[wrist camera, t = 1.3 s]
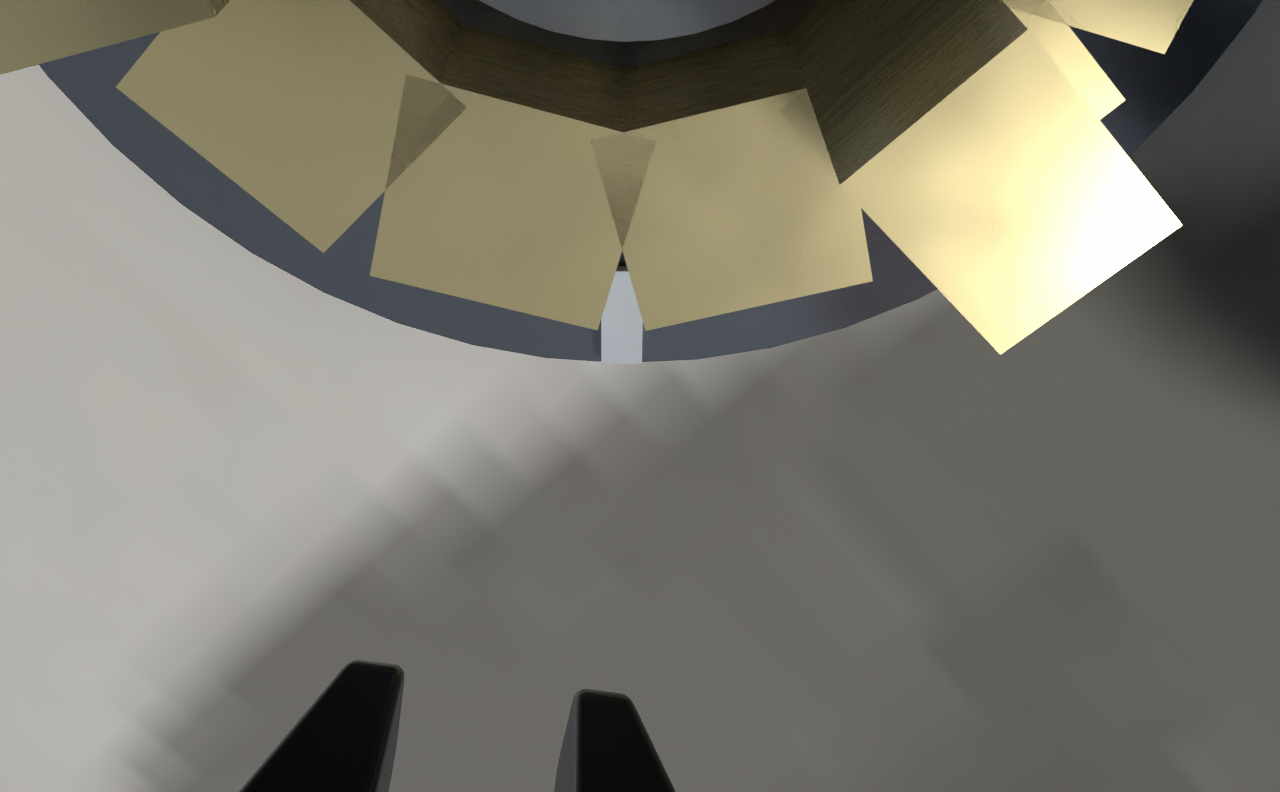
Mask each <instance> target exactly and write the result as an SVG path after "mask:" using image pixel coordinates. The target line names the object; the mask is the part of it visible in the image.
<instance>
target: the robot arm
mask: <svg viewBox="0 0 1280 792" xmlns="http://www.w3.org/2000/svg"><path fill="white" fill-rule="evenodd" d="M403 685H404V672H403V670H402V668H400V667H399V666H398V665H394V664H386V663H378V662H371V661H363V660H354V661H351V662H349V663H348V664H347V665H346V666H344V667H343V668H342V670H341V671H340V672H339V673H338V674H337V675H336V677H335V678H334V679H333V680H332V681H331V683H330V684H329V685H328V686H327V687H326V689H325V690H324V691H323V692H322V693H321V694H320V696H319V697H318V698H317V699H316V700H315V702H314V703H313V704H312V705H311V706H310V708H309V709H308V710H307V711H306V712H305V713H304V715H303V716H302V717H301V718H300V719H299V721H298V722H297V723H296V724H295V725H294V727H293V728H292V729H291V730H290V731H289V732H288V734H287V735H286V736H285V737H284V738H283V740H282V741H281V742H280V743H279V744H278V746H277V747H276V748H275V749H274V750H273V751H272V753H271V754H270V755H269V756H268V757H267V759H266V760H265V761H264V762H263V763H262V765H261V766H260V767H259V768H258V769H257V770H256V772H255V773H254V774H253V775H252V776H251V778H250V779H249V780H248V781H247V782H246V784H245V785H244V786H243V787H242V788H241V790H240V791H239V792H388V791H389V785H390V780H391V774H392V769H393V763H394V757H395V751H396V744H397V737H398V728H399V720H400V711H401V703H402V694H403ZM554 792H675V790H674V788H673V785H672V783H671V781H670V779H669V777H668V775H667V773H666V771H665V769H664V767H663V765H662V762H661V760H660V758H659V756H658V754H657V752H656V750H655V748H654V746H653V744H652V741H651V739H650V737H649V735H648V733H647V731H646V729H645V727H644V725H643V723H642V721H641V718H640V716H639V714H638V712H637V710H636V708H635V706H634V704H633V703H632V701H631V700H630V698H628V697H627V696H626V695H624V694H620V693H613V692H605V691H597V690H590V689H582V690H580V691H578V692H577V693H576V694H575V696H574V699H573V702H572V706H571V710H570V715H569V719H568V723H567V727H566V732H565V736H564V740H563V745H562V749H561V753H560V758H559V763H558V768H557V775H556V782H555V791H554Z"/></svg>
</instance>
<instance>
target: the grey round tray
mask: <svg viewBox="0 0 1280 792" xmlns="http://www.w3.org/2000/svg"><path fill="white" fill-rule="evenodd" d="M439 1H440V2H441V3H442V4H443V5H444V6H445V7H446V8H447V9H448V10H449V11H450V12H451V13H452V14H453V15H455V16H456V17H457V18H458V19H459V20H460V21H461V22H462V23H463V24H466V25H469V26H473V27H476V28H480V29H484V30H487V31H491V32H495V33H498V34H502V35H505V36H509V37H513V38H516V39H520V40H523V41H527V42H531V43H534V44H538V45H542V46H545V47H549V48H552V49H556V50H560V51H563V52H567V53H571V54H574V55H578V56H581V57H585V58H589V59H592V60H596V61H599V62H603V63H607V64H610V65H614V66H618V67H621V68H627V67H631V66H635V65H640V64H644V63H648V62H652V61H656V60H660V59H664V58H668V57H672V56H676V55H680V54H684V53H688V52H692V51H696V50H700V49H704V48H708V47H712V46H716V45H720V44H724V43H728V42H732V41H736V40H740V39H744V38H748V37H752V36H756V35H760V34H764V33H768V32H772V31H776V30H780V29H784V28H786V27H787V26H788V25H789V24H790V23H791V22H792V21H794V20H795V19H796V18H797V17H798V16H799V15H800V14H801V13H802V12H803V11H805V10H806V9H807V8H808V7H809V6H810V5H811V4H812V3H813V2H814V1H815V0H439ZM1261 2H1262V0H1193V2H1192V4H1191V6H1190V8H1189V9H1188V11H1187V13H1186V15H1185V17H1184V19H1183V21H1182V23H1181V24H1180V26H1179V28H1178V30H1177V32H1176V34H1175V36H1174V38H1173V39H1172V41H1171V43H1170V45H1169V47H1168V49H1167V51H1166V53H1165V54H1162V53H1159V52H1155V51H1152V50H1149V49H1145V48H1142V47H1139V46H1135V45H1132V44H1129V43H1125V42H1122V41H1119V40H1115V39H1112V38H1109V37H1105V36H1102V35H1099V34H1095V33H1092V32H1089V31H1085V30H1082V29H1079V28H1075V27H1072V26H1069V25H1068V26H1069V27H1070V28H1071V30H1072V31H1073V32H1074V34H1075V35H1076V36H1077V37H1078V39H1079V40H1080V41H1081V43H1082V44H1083V45H1084V47H1085V48H1086V49H1087V50H1088V52H1089V53H1090V54H1091V56H1092V57H1093V58H1094V59H1095V61H1096V62H1097V63H1098V65H1099V66H1100V67H1101V69H1102V70H1103V71H1104V72H1105V74H1106V75H1107V76H1108V78H1109V79H1110V80H1111V82H1112V83H1113V84H1114V85H1115V87H1116V88H1117V89H1118V91H1119V92H1120V93H1121V95H1122V96H1123V97H1124V98H1125V101H1124V102H1123V103H1121V104H1120V105H1119V106H1117V107H1116V108H1115V109H1113V110H1112V111H1111V112H1110V113H1108V114H1107V115H1106V116H1104V117H1103V118H1102V119H1101V120H1100V121H1101V122H1102V124H1103V125H1104V126H1105V127H1106V129H1107V130H1108V131H1109V132H1110V134H1111V135H1112V136H1113V138H1114V139H1115V140H1116V141H1117V143H1118V144H1119V145H1120V146H1121V148H1122V149H1123V150H1124V151H1125V153H1126V154H1127V155H1128V156H1130V155H1131V154H1132V153H1133V152H1134V151H1135V150H1136V149H1137V148H1138V147H1139V146H1140V145H1141V144H1142V143H1143V142H1144V141H1145V140H1146V139H1147V138H1148V137H1149V136H1150V135H1151V133H1152V132H1153V131H1154V130H1155V129H1156V128H1157V127H1158V126H1159V125H1160V124H1161V123H1162V122H1163V121H1164V120H1165V119H1166V118H1167V117H1168V116H1169V115H1170V114H1171V113H1172V112H1173V111H1174V110H1175V109H1176V108H1177V107H1178V106H1179V105H1180V104H1181V103H1182V102H1183V101H1184V100H1185V99H1186V98H1187V96H1188V95H1189V94H1190V93H1191V92H1192V91H1193V90H1194V89H1195V88H1196V86H1197V85H1198V84H1199V83H1200V81H1201V80H1202V79H1203V77H1204V76H1205V75H1206V74H1207V72H1208V71H1209V70H1210V69H1211V67H1212V66H1213V65H1214V64H1215V62H1216V61H1217V60H1218V58H1219V57H1220V56H1221V55H1222V53H1223V52H1224V51H1225V50H1226V48H1227V47H1228V46H1229V45H1230V43H1231V42H1232V41H1233V39H1234V38H1235V37H1236V36H1237V34H1238V33H1239V32H1240V31H1241V29H1242V28H1243V27H1244V26H1245V24H1246V23H1247V22H1248V20H1249V19H1250V18H1251V17H1252V15H1253V14H1254V13H1255V11H1256V9H1257V8H1258V6H1259V5H1260V3H1261ZM159 33H160V32H158V33H154V34H150V35H146V36H143V37H139V38H135V39H131V40H128V41H124V42H120V43H117V44H113V45H109V46H105V47H102V48H98V49H94V50H90V51H87V52H83V53H79V54H75V55H72V56H68V57H64V58H60V59H57V60H53V61H49V62H45V63H42V64H39V65H40V67H41V68H42V69H43V71H44V72H45V73H46V74H47V76H48V77H49V78H50V79H51V80H52V81H53V82H54V83H55V84H56V85H57V86H58V88H59V89H60V90H61V91H62V92H63V93H64V94H65V95H66V96H67V97H68V98H69V99H70V100H71V101H72V102H73V103H74V104H75V105H76V107H77V108H78V109H79V110H80V111H81V112H82V113H83V114H84V115H85V116H86V117H87V118H88V119H89V120H90V121H91V122H92V123H93V125H94V126H95V127H96V128H97V129H98V130H99V131H100V132H101V133H102V134H103V135H104V136H105V137H106V138H107V139H108V140H109V141H110V143H111V144H112V145H113V146H114V147H116V148H117V149H118V150H119V151H120V152H121V153H123V154H124V155H125V156H126V157H127V158H128V159H130V160H131V161H132V162H133V163H134V164H135V165H137V166H138V167H139V168H140V169H141V170H142V171H144V172H145V173H146V174H147V175H148V176H149V177H151V178H152V179H153V180H154V181H155V182H156V183H158V184H159V185H160V186H161V187H162V188H163V189H164V190H166V191H167V192H168V193H169V194H170V195H171V196H173V197H174V198H175V199H176V200H177V201H178V202H180V203H181V204H182V205H183V206H185V207H186V208H188V209H189V210H191V211H192V212H194V213H195V214H196V215H198V216H199V217H201V218H202V219H204V220H205V221H207V222H208V223H209V224H211V225H212V226H214V227H215V228H217V229H218V230H220V231H221V232H222V233H224V234H225V235H227V236H228V237H230V238H231V239H233V240H234V241H235V242H237V243H238V244H240V245H241V246H243V247H244V248H246V249H247V250H248V251H250V252H251V253H253V254H255V255H257V256H258V257H260V258H262V259H264V260H266V261H268V262H269V263H271V264H273V265H275V266H277V267H279V268H280V269H282V270H284V271H286V272H288V273H290V274H291V275H293V276H295V277H297V278H299V279H301V280H302V281H304V282H306V283H308V284H310V285H311V286H313V287H315V288H317V289H319V290H321V291H322V292H324V293H327V294H329V295H332V296H334V297H336V298H339V299H341V300H344V301H346V302H348V303H351V304H353V305H356V306H358V307H360V308H363V309H365V310H368V311H370V312H373V313H375V314H377V315H380V316H382V317H385V318H387V319H389V320H392V321H394V322H397V323H400V324H403V325H407V326H410V327H413V328H417V329H420V330H424V331H427V332H430V333H434V334H437V335H441V336H444V337H448V338H451V339H454V340H458V341H461V342H465V343H468V344H471V345H477V346H482V347H488V348H494V349H499V350H505V351H511V352H516V353H522V354H528V355H533V356H539V357H545V358H556V359H571V360H587V361H601V364H642V362H650V361H672V360H694V359H702V358H709V357H715V356H721V355H728V354H734V353H740V352H747V351H753V350H759V349H766V348H772V347H775V346H779V345H783V344H786V343H790V342H794V341H797V340H801V339H805V338H808V337H812V336H816V335H819V334H823V333H827V332H830V331H834V330H838V329H841V328H845V327H848V326H850V325H853V324H855V323H858V322H860V321H863V320H866V319H868V318H871V317H873V316H876V315H878V314H881V313H883V312H886V311H888V310H891V309H893V308H896V307H899V306H901V305H904V304H906V303H909V302H911V301H914V300H916V299H919V298H921V297H923V296H924V295H926V294H928V293H930V292H932V291H934V290H936V289H938V288H937V287H936V286H935V285H934V284H933V283H932V282H931V281H930V280H929V279H928V278H927V277H926V276H925V275H924V274H923V273H922V271H921V270H920V269H919V268H918V267H917V266H916V265H915V264H914V263H913V262H912V261H911V260H910V259H909V258H908V257H907V256H906V255H905V254H904V253H903V251H902V250H901V249H900V248H899V247H898V246H897V245H896V244H895V243H894V242H893V241H892V240H891V239H890V238H889V237H888V236H887V235H886V234H885V232H884V231H883V230H882V229H881V228H880V227H879V226H878V225H877V224H876V223H875V222H874V221H873V220H872V219H871V218H870V217H869V216H868V215H867V213H866V212H865V211H864V210H863V209H862V208H861V211H862V217H863V223H864V229H865V236H866V242H867V248H868V254H869V260H870V266H871V272H872V279H873V281H871V282H867V283H862V284H858V285H853V286H848V287H844V288H839V289H835V290H830V291H826V292H821V293H817V294H812V295H807V296H803V297H798V298H794V299H789V300H785V301H780V302H775V303H771V304H766V305H762V306H757V307H753V308H748V309H743V310H739V311H734V312H730V313H725V314H721V315H716V316H712V317H707V318H702V319H698V320H693V321H689V322H684V323H680V324H675V325H670V326H666V327H661V328H657V329H652V330H648V331H646V330H645V327H644V323H643V320H642V317H641V313H640V310H639V306H638V303H637V299H636V296H635V292H634V289H633V285H632V282H631V279H630V275H629V272H628V268H627V265H626V261H625V258H624V254H623V251H622V253H621V256H620V259H619V263H618V266H617V269H616V272H615V276H614V279H613V282H612V285H611V288H610V292H609V295H608V298H607V301H606V305H605V308H604V311H603V314H602V318H601V321H600V324H599V327H598V330H594V329H590V328H585V327H581V326H577V325H573V324H569V323H565V322H560V321H556V320H552V319H548V318H544V317H540V316H535V315H531V314H527V313H523V312H519V311H515V310H510V309H506V308H502V307H498V306H494V305H490V304H485V303H481V302H477V301H473V300H469V299H464V298H460V297H456V296H452V295H448V294H444V293H439V292H435V291H431V290H427V289H423V288H419V287H414V286H410V285H406V284H402V283H398V282H394V281H389V280H385V279H381V278H377V277H373V276H370V272H371V266H372V261H373V255H374V249H375V244H376V238H377V233H378V227H379V222H380V216H381V211H382V205H383V200H384V194H385V191H384V192H383V193H382V194H381V195H380V196H379V197H378V198H377V199H376V200H375V201H374V202H373V203H372V204H371V205H370V206H369V207H368V208H367V209H366V210H365V211H364V213H363V214H362V215H361V216H360V217H359V218H358V219H357V220H356V221H355V222H354V223H353V224H352V225H351V226H350V227H349V228H348V229H347V230H346V231H345V232H344V233H343V234H342V235H341V236H340V237H339V238H338V239H337V240H336V241H335V242H334V243H333V244H332V245H331V246H330V247H329V248H328V249H327V250H326V251H325V252H324V253H323V252H321V251H320V250H319V249H318V248H316V247H315V246H314V245H313V244H311V243H310V242H309V241H308V240H306V239H305V238H304V237H303V236H301V235H300V234H299V233H298V232H296V231H295V230H294V229H293V228H291V227H290V226H289V225H288V224H286V223H285V222H284V221H283V220H281V219H280V218H279V217H278V216H276V215H275V214H274V213H273V212H271V211H270V210H269V209H268V208H266V207H265V206H264V205H263V204H261V203H260V202H259V201H258V200H256V199H255V198H254V197H253V196H251V195H250V194H249V193H248V192H246V191H245V190H244V189H243V188H241V187H240V186H239V185H238V184H236V183H235V182H234V181H232V180H231V179H230V178H229V177H227V176H226V175H225V174H224V173H222V172H221V171H220V170H219V169H217V168H216V167H215V166H214V165H212V164H211V163H210V162H209V161H207V160H206V159H205V158H204V157H202V156H201V155H200V154H199V153H197V152H196V151H195V150H194V149H192V148H191V147H190V146H189V145H187V144H186V143H185V142H184V141H182V140H181V139H180V138H179V137H177V136H176V135H175V134H174V133H172V132H171V131H170V130H169V129H167V128H166V127H165V126H164V125H162V124H161V123H160V122H159V121H157V120H156V119H155V118H154V117H152V116H151V115H150V114H149V113H147V112H146V111H145V110H144V109H142V108H141V107H140V106H139V105H137V104H136V103H135V102H134V101H132V100H131V99H130V98H129V97H127V96H126V95H125V94H124V93H122V92H121V91H120V90H119V89H117V88H116V86H117V85H118V84H119V82H120V81H121V80H122V79H123V77H124V76H125V75H126V74H127V72H128V71H129V70H130V69H131V68H132V66H133V65H134V64H135V63H136V61H137V60H138V59H139V58H140V56H141V55H142V54H143V53H144V52H145V50H146V49H147V48H148V47H149V45H150V44H151V43H152V42H153V40H154V39H155V38H156V37H157V35H158V34H159Z"/></svg>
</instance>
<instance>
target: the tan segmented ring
mask: <svg viewBox="0 0 1280 792" xmlns="http://www.w3.org/2000/svg"><path fill="white" fill-rule="evenodd" d="M1192 2H1193V0H815V1H814V2H813V3H812V4H811V5H810V6H809V7H808V8H807V9H806V10H805V11H803V12H802V13H801V14H800V15H799V16H798V17H797V18H796V19H795V20H794V21H792V22H791V23H790V24H789V25H788V26H787V27H786V28H784V29H780V30H776V31H772V32H768V33H764V34H760V35H756V36H752V37H748V38H744V39H740V40H736V41H732V42H728V43H724V44H720V45H716V46H712V47H708V48H704V49H700V50H696V51H692V52H688V53H684V54H680V55H676V56H672V57H668V58H664V59H660V60H656V61H652V62H648V63H644V64H640V65H635V66H631V67H627V68H621V67H618V66H614V65H610V64H607V63H603V62H599V61H596V60H592V59H589V58H585V57H581V56H578V55H574V54H571V53H567V52H563V51H560V50H556V49H552V48H549V47H545V46H542V45H538V44H534V43H531V42H527V41H523V40H520V39H516V38H513V37H509V36H505V35H502V34H498V33H495V32H491V31H487V30H484V29H480V28H476V27H473V26H469V25H466V24H463V23H462V22H461V21H460V20H459V19H458V18H457V17H456V16H455V15H453V14H452V13H451V12H450V11H449V10H448V9H447V8H446V7H445V6H444V5H443V4H442V3H441V2H440V1H439V0H0V74H4V73H8V72H12V71H15V70H19V69H23V68H27V67H30V66H34V65H38V64H42V63H45V62H49V61H53V60H57V59H60V58H64V57H68V56H72V55H75V54H79V53H83V52H87V51H90V50H94V49H98V48H102V47H105V46H109V45H113V44H117V43H120V42H124V41H128V40H131V39H135V38H139V37H143V36H146V35H150V34H154V33H158V32H160V33H159V34H158V35H157V37H156V38H155V39H154V40H153V42H152V43H151V44H150V45H149V47H148V48H147V49H146V50H145V52H144V53H143V54H142V55H141V56H140V58H139V59H138V60H137V61H136V63H135V64H134V65H133V66H132V68H131V69H130V70H129V71H128V72H127V74H126V75H125V76H124V77H123V79H122V80H121V81H120V82H119V84H118V85H117V86H116V88H117V89H119V90H120V91H121V92H122V93H124V94H125V95H126V96H127V97H129V98H130V99H131V100H132V101H134V102H135V103H136V104H137V105H139V106H140V107H141V108H142V109H144V110H145V111H146V112H147V113H149V114H150V115H151V116H152V117H154V118H155V119H156V120H157V121H159V122H160V123H161V124H162V125H164V126H165V127H166V128H167V129H169V130H170V131H171V132H172V133H174V134H175V135H176V136H177V137H179V138H180V139H181V140H182V141H184V142H185V143H186V144H187V145H189V146H190V147H191V148H192V149H194V150H195V151H196V152H197V153H199V154H200V155H201V156H202V157H204V158H205V159H206V160H207V161H209V162H210V163H211V164H212V165H214V166H215V167H216V168H217V169H219V170H220V171H221V172H222V173H224V174H225V175H226V176H227V177H229V178H230V179H231V180H232V181H234V182H235V183H236V184H238V185H239V186H240V187H241V188H243V189H244V190H245V191H246V192H248V193H249V194H250V195H251V196H253V197H254V198H255V199H256V200H258V201H259V202H260V203H261V204H263V205H264V206H265V207H266V208H268V209H269V210H270V211H271V212H273V213H274V214H275V215H276V216H278V217H279V218H280V219H281V220H283V221H284V222H285V223H286V224H288V225H289V226H290V227H291V228H293V229H294V230H295V231H296V232H298V233H299V234H300V235H301V236H303V237H304V238H305V239H306V240H308V241H309V242H310V243H311V244H313V245H314V246H315V247H316V248H318V249H319V250H320V251H321V252H323V253H324V252H325V251H326V250H327V249H328V248H329V247H330V246H331V245H332V244H333V243H334V242H335V241H336V240H337V239H338V238H339V237H340V236H341V235H342V234H343V233H344V232H345V231H346V230H347V229H348V228H349V227H350V226H351V225H352V224H353V223H354V222H355V221H356V220H357V219H358V218H359V217H360V216H361V215H362V214H363V213H364V211H365V210H366V209H367V208H368V207H369V206H370V205H371V204H372V203H373V202H374V201H375V200H376V199H377V198H378V197H379V196H380V195H381V194H382V193H383V192H384V191H385V194H384V200H383V205H382V211H381V216H380V222H379V227H378V233H377V238H376V244H375V249H374V255H373V261H372V266H371V272H370V276H373V277H377V278H381V279H385V280H389V281H394V282H398V283H402V284H406V285H410V286H414V287H419V288H423V289H427V290H431V291H435V292H439V293H444V294H448V295H452V296H456V297H460V298H464V299H469V300H473V301H477V302H481V303H485V304H490V305H494V306H498V307H502V308H506V309H510V310H515V311H519V312H523V313H527V314H531V315H535V316H540V317H544V318H548V319H552V320H556V321H560V322H565V323H569V324H573V325H577V326H581V327H585V328H590V329H594V330H598V327H599V324H600V321H601V318H602V314H603V311H604V308H605V305H606V301H607V298H608V295H609V292H610V288H611V285H612V282H613V279H614V276H615V272H616V269H617V266H618V263H619V259H620V256H621V253H622V251H623V254H624V258H625V261H626V265H627V268H628V272H629V275H630V279H631V282H632V285H633V289H634V292H635V296H636V299H637V303H638V306H639V310H640V313H641V317H642V320H643V323H644V327H645V330H646V331H648V330H652V329H657V328H661V327H666V326H670V325H675V324H680V323H684V322H689V321H693V320H698V319H702V318H707V317H712V316H716V315H721V314H725V313H730V312H734V311H739V310H743V309H748V308H753V307H757V306H762V305H766V304H771V303H775V302H780V301H785V300H789V299H794V298H798V297H803V296H807V295H812V294H817V293H821V292H826V291H830V290H835V289H839V288H844V287H848V286H853V285H858V284H862V283H867V282H871V281H873V279H872V272H871V266H870V260H869V254H868V248H867V242H866V236H865V229H864V223H863V217H862V211H861V208H862V209H863V210H864V211H865V212H866V213H867V215H868V216H869V217H870V218H871V219H872V220H873V221H874V222H875V223H876V224H877V225H878V226H879V227H880V228H881V229H882V230H883V231H884V232H885V234H886V235H887V236H888V237H889V238H890V239H891V240H892V241H893V242H894V243H895V244H896V245H897V246H898V247H899V248H900V249H901V250H902V251H903V253H904V254H905V255H906V256H907V257H908V258H909V259H910V260H911V261H912V262H913V263H914V264H915V265H916V266H917V267H918V268H919V269H920V270H921V271H922V273H923V274H924V275H925V276H926V277H927V278H928V279H929V280H930V281H931V282H932V283H933V284H934V285H935V286H936V287H937V288H938V289H939V290H940V292H941V293H942V294H943V295H944V296H945V297H946V298H947V299H948V300H949V301H950V302H951V303H952V304H953V305H954V306H955V307H956V308H957V309H958V311H959V312H960V313H961V314H962V315H963V316H964V317H965V318H966V319H967V320H968V321H969V322H970V323H971V324H972V325H973V326H974V327H975V328H976V329H977V331H978V332H979V333H980V334H981V335H982V336H983V337H984V338H985V339H986V340H987V341H988V342H989V343H990V344H991V345H992V346H993V347H994V348H995V350H996V351H997V352H998V353H999V354H1000V355H1001V354H1002V353H1004V352H1005V351H1007V350H1008V349H1009V348H1011V347H1012V346H1014V345H1015V344H1016V343H1018V342H1019V341H1021V340H1022V339H1023V338H1025V337H1026V336H1028V335H1029V334H1030V333H1032V332H1033V331H1035V330H1036V329H1037V328H1039V327H1040V326H1042V325H1043V324H1044V323H1046V322H1047V321H1049V320H1050V319H1051V318H1053V317H1054V316H1056V315H1057V314H1059V313H1060V312H1061V311H1063V310H1064V309H1066V308H1067V307H1068V306H1070V305H1071V304H1073V303H1074V302H1075V301H1077V300H1078V299H1080V298H1081V297H1082V296H1084V295H1085V294H1087V293H1088V292H1089V291H1091V290H1092V289H1094V288H1095V287H1096V286H1098V285H1099V284H1101V283H1102V282H1104V281H1105V280H1106V279H1108V278H1109V277H1111V276H1112V275H1113V274H1115V273H1116V272H1118V271H1119V270H1120V269H1122V268H1123V267H1125V266H1126V265H1127V264H1129V263H1130V262H1132V261H1133V260H1134V259H1136V258H1137V257H1139V256H1140V255H1141V254H1143V253H1144V252H1146V251H1147V250H1148V249H1150V248H1151V247H1153V246H1154V245H1156V244H1157V243H1158V242H1160V241H1161V240H1163V239H1164V238H1165V237H1167V236H1168V235H1170V234H1171V233H1172V232H1174V231H1175V230H1177V229H1178V228H1179V227H1181V226H1182V224H1181V222H1180V221H1179V220H1178V218H1177V217H1176V216H1175V215H1174V213H1173V212H1172V211H1171V210H1170V208H1169V207H1168V206H1167V205H1166V203H1165V202H1164V201H1163V199H1162V198H1161V197H1160V196H1159V194H1158V193H1157V192H1156V191H1155V189H1154V188H1153V187H1152V186H1151V184H1150V183H1149V182H1148V181H1147V179H1146V178H1145V177H1144V175H1143V174H1142V173H1141V172H1140V170H1139V169H1138V168H1137V167H1136V165H1135V164H1134V163H1133V162H1132V160H1131V159H1130V158H1129V156H1128V155H1127V154H1126V153H1125V151H1124V150H1123V149H1122V148H1121V146H1120V145H1119V144H1118V143H1117V141H1116V140H1115V139H1114V138H1113V136H1112V135H1111V134H1110V132H1109V131H1108V130H1107V129H1106V127H1105V126H1104V125H1103V124H1102V122H1101V121H1100V120H1101V119H1102V118H1103V117H1104V116H1106V115H1107V114H1108V113H1110V112H1111V111H1112V110H1113V109H1115V108H1116V107H1117V106H1119V105H1120V104H1121V103H1123V102H1124V101H1125V98H1124V97H1123V96H1122V95H1121V93H1120V92H1119V91H1118V89H1117V88H1116V87H1115V85H1114V84H1113V83H1112V82H1111V80H1110V79H1109V78H1108V76H1107V75H1106V74H1105V72H1104V71H1103V70H1102V69H1101V67H1100V66H1099V65H1098V63H1097V62H1096V61H1095V59H1094V58H1093V57H1092V56H1091V54H1090V53H1089V52H1088V50H1087V49H1086V48H1085V47H1084V45H1083V44H1082V43H1081V41H1080V40H1079V39H1078V37H1077V36H1076V35H1075V34H1074V32H1073V31H1072V30H1071V28H1070V27H1069V26H1072V27H1075V28H1079V29H1082V30H1085V31H1089V32H1092V33H1095V34H1099V35H1102V36H1105V37H1109V38H1112V39H1115V40H1119V41H1122V42H1125V43H1129V44H1132V45H1135V46H1139V47H1142V48H1145V49H1149V50H1152V51H1155V52H1159V53H1162V54H1165V53H1166V51H1167V49H1168V47H1169V45H1170V43H1171V41H1172V39H1173V38H1174V36H1175V34H1176V32H1177V30H1178V28H1179V26H1180V24H1181V23H1182V21H1183V19H1184V17H1185V15H1186V13H1187V11H1188V9H1189V8H1190V6H1191V4H1192ZM1068 25H1069V26H1068Z"/></svg>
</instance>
